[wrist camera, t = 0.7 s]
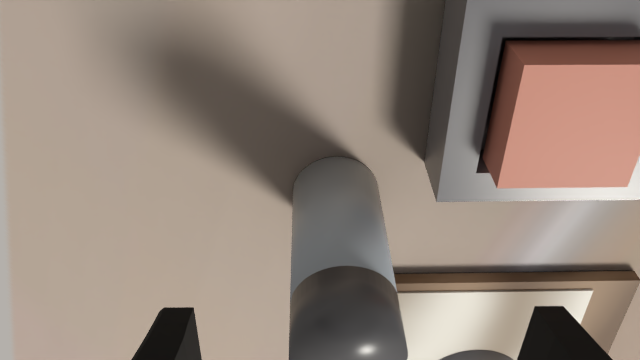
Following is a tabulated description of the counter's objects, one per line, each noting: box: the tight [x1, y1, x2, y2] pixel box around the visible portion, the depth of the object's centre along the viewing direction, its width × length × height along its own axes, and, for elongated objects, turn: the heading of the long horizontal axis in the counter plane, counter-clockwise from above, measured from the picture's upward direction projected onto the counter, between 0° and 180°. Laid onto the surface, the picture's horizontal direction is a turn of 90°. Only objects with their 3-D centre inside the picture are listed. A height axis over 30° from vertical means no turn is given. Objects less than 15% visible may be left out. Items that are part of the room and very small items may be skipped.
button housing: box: [424, 0, 640, 202], centre depth 19 cm, size 7×7×2 cm
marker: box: [289, 157, 408, 360], centre depth 20 cm, size 3×3×8 cm
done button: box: [483, 40, 640, 188], centre depth 18 cm, size 4×4×2 cm
